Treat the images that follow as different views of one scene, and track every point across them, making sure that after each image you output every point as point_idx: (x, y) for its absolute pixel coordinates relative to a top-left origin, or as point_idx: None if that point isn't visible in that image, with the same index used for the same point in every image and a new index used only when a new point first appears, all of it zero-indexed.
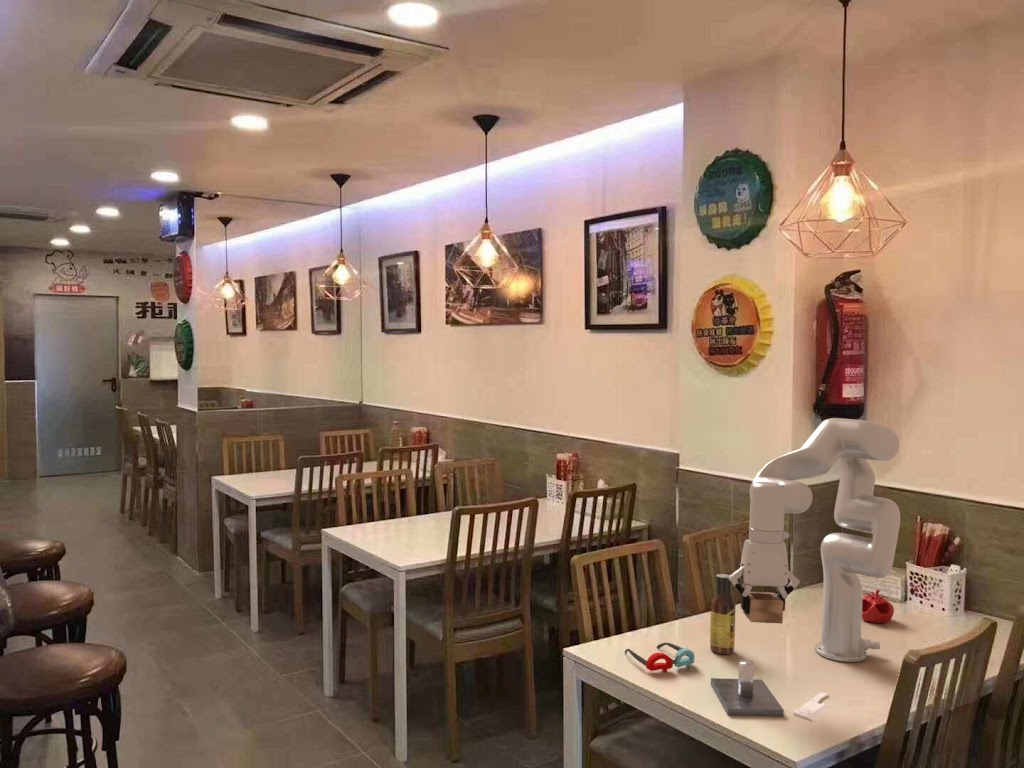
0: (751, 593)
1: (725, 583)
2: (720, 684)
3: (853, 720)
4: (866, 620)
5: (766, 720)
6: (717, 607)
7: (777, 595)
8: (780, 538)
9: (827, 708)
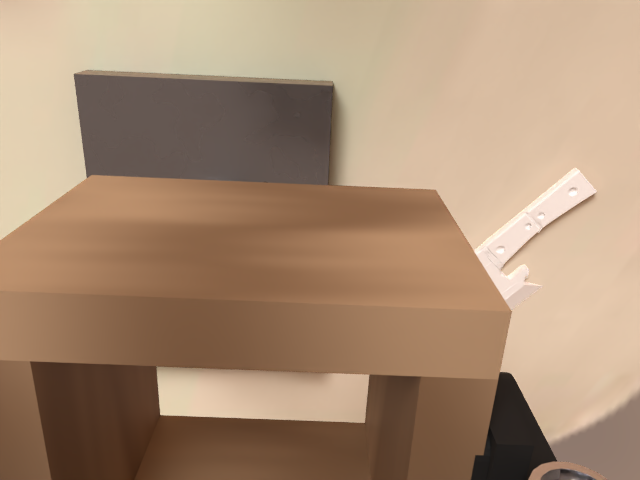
0: (72, 356)
1: None
2: (112, 149)
3: (561, 379)
4: None
5: (249, 379)
6: None
7: (489, 465)
8: None
9: (519, 300)
